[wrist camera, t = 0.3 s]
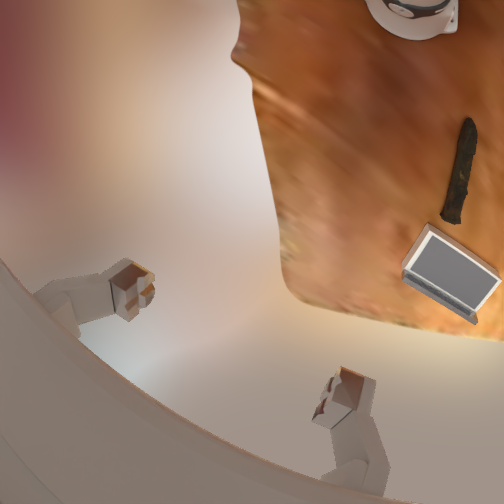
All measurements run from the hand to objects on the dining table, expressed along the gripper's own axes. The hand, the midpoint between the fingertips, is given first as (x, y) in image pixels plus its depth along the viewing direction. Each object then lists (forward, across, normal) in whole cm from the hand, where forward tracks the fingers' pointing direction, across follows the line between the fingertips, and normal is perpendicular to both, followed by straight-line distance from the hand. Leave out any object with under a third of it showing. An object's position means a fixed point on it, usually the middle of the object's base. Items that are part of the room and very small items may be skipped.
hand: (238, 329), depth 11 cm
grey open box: (+47, -27, +13) cm, 55 cm away
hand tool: (+50, -19, 0) cm, 53 cm away
